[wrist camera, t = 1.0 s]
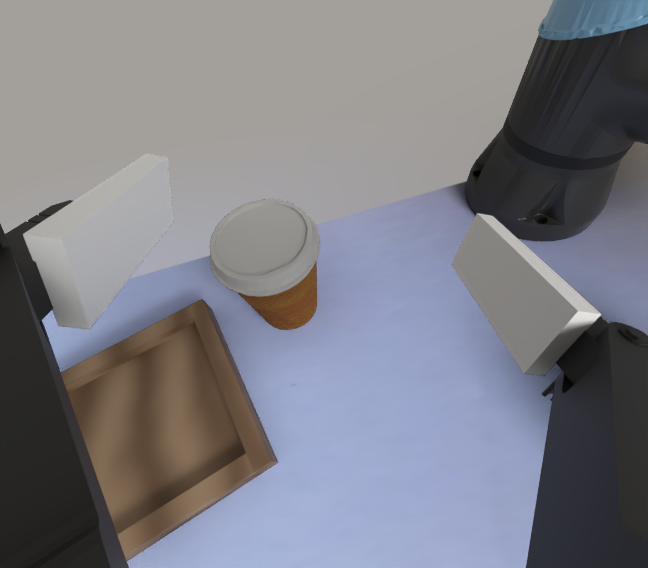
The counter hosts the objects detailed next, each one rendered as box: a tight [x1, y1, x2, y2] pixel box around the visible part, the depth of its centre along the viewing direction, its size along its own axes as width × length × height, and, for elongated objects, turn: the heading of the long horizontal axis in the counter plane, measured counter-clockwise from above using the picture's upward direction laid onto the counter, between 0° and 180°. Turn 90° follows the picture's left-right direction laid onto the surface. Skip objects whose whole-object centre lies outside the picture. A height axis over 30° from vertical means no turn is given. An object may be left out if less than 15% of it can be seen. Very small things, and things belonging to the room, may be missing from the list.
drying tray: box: [61, 299, 278, 561], centre depth 30 cm, size 18×18×2 cm
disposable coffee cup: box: [210, 199, 320, 330], centre depth 31 cm, size 10×10×12 cm
